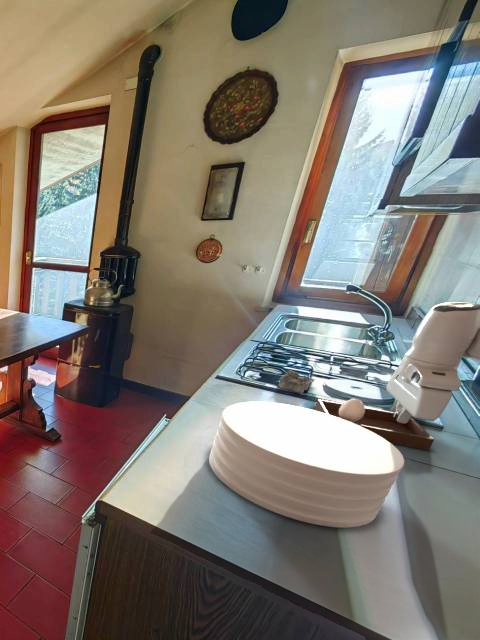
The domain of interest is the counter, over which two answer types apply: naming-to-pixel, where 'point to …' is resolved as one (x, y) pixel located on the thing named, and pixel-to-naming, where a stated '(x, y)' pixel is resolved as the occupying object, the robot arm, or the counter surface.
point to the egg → (352, 410)
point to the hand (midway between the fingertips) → (399, 420)
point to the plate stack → (304, 463)
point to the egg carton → (295, 382)
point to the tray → (385, 425)
